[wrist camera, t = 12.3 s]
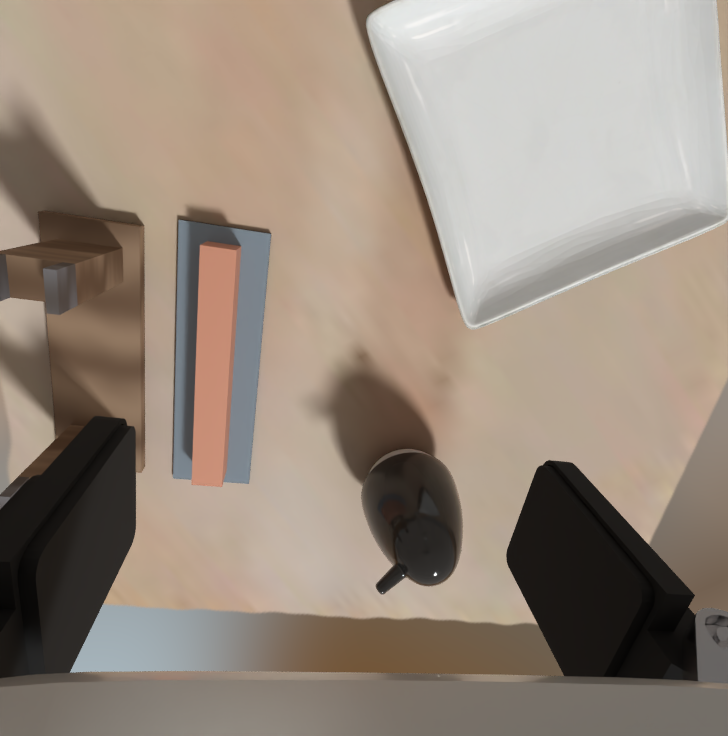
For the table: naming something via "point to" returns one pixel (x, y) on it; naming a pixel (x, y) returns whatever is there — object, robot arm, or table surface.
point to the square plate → (556, 135)
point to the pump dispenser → (414, 517)
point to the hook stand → (85, 323)
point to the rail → (214, 360)
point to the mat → (246, 343)
